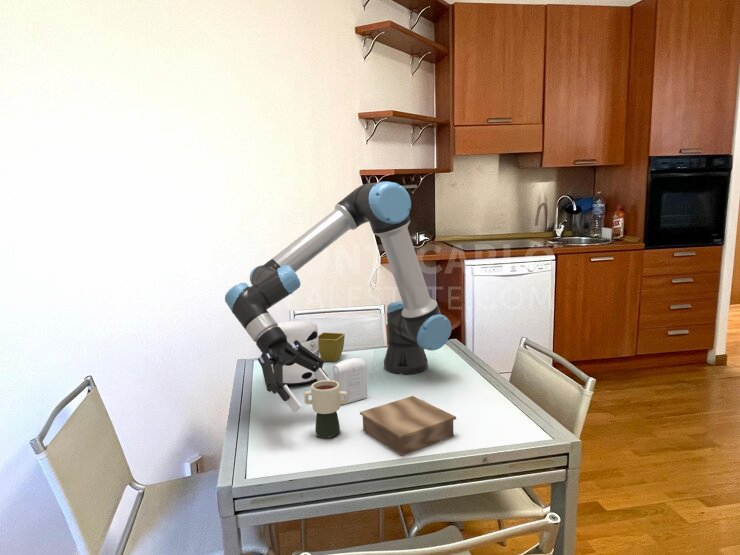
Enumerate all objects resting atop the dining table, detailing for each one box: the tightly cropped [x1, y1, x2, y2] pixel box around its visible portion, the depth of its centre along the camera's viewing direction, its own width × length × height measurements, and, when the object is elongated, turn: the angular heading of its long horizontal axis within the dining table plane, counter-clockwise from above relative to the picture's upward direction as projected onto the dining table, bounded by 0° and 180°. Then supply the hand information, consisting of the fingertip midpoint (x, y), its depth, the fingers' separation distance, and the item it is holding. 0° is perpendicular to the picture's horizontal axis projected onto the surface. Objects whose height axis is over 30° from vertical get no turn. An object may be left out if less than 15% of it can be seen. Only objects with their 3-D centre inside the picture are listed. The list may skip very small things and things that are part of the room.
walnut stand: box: [359, 395, 457, 456], centre depth 129 cm, size 17×17×5 cm
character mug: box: [303, 379, 349, 438], centre depth 130 cm, size 11×7×13 cm, turn 85°
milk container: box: [270, 320, 324, 386], centre depth 169 cm, size 17×17×18 cm
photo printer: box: [332, 357, 368, 406], centre depth 151 cm, size 10×4×12 cm, turn 123°
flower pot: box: [318, 332, 346, 362], centre depth 189 cm, size 9×9×9 cm
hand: (315, 399), depth 130 cm, fingers open, 13 cm apart
